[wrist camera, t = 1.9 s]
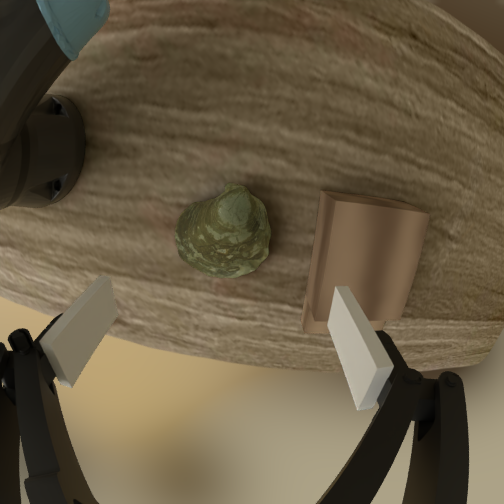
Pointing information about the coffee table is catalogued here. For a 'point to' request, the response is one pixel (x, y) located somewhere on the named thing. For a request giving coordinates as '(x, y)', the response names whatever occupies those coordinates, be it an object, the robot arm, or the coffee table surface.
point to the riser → (363, 256)
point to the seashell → (224, 233)
